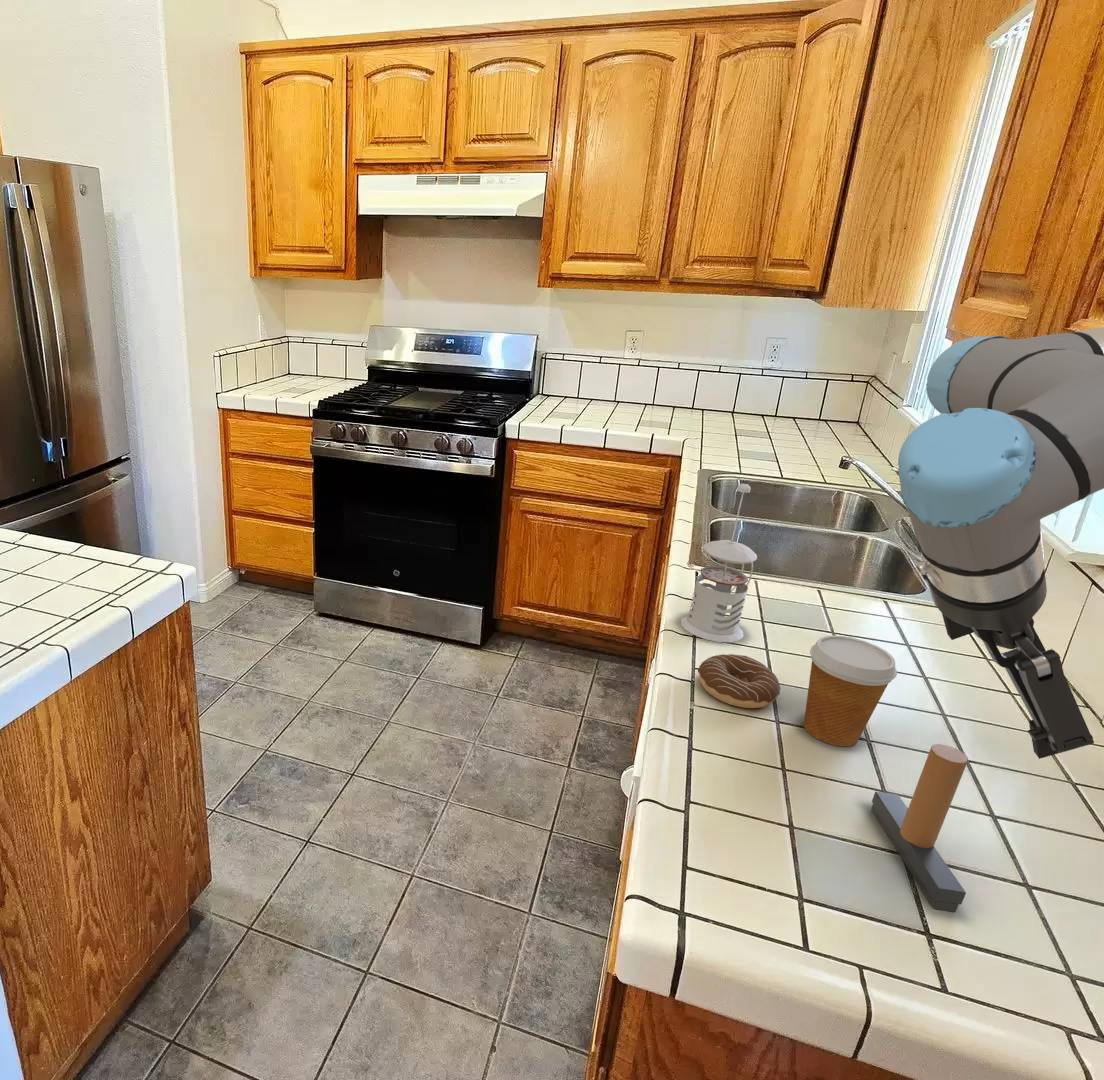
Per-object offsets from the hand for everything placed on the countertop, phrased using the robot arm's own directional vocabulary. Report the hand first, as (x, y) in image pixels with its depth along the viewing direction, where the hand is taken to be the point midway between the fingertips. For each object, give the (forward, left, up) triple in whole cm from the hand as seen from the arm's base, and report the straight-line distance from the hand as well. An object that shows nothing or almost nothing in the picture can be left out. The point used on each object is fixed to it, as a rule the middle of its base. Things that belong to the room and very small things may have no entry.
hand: (1005, 687), depth 73 cm
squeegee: (+4, +3, -20) cm, 20 cm away
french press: (+12, -47, -20) cm, 53 cm away
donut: (+14, -27, -20) cm, 36 cm away
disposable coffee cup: (+4, -19, -20) cm, 28 cm away
